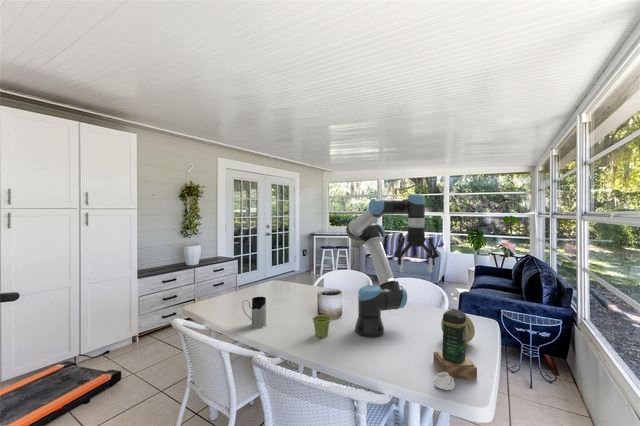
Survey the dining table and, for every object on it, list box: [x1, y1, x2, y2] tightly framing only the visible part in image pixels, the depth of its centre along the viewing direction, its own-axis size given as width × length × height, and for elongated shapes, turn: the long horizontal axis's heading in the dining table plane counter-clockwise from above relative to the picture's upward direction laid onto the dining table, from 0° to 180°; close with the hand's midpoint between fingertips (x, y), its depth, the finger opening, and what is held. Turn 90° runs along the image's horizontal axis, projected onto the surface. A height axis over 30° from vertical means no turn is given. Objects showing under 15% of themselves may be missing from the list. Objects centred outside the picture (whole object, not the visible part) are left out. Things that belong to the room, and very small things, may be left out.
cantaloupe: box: [440, 314, 476, 344], centre depth 143 cm, size 15×15×15 cm
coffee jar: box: [441, 308, 467, 363], centre depth 117 cm, size 10×8×19 cm
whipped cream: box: [433, 372, 456, 391], centre depth 107 cm, size 8×7×5 cm
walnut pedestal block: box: [433, 350, 478, 380], centre depth 117 cm, size 12×12×5 cm
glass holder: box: [241, 296, 268, 329], centre depth 165 cm, size 9×14×15 cm, turn 78°
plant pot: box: [312, 314, 332, 339], centre depth 151 cm, size 9×9×9 cm
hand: (416, 272), depth 140 cm, fingers open, 13 cm apart
